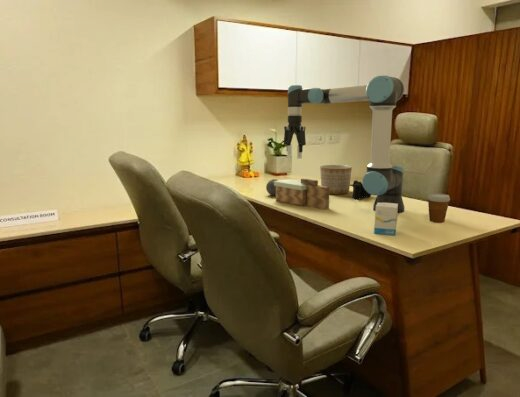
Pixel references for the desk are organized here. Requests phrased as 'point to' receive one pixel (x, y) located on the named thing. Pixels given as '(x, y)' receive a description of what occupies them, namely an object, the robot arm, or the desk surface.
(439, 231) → the desk surface
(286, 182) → the lid
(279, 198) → the brown zigzag organizer box
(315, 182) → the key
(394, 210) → the ink box
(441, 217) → the disposable coffee cup
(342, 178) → the planter
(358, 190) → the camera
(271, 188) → the decorative ball
